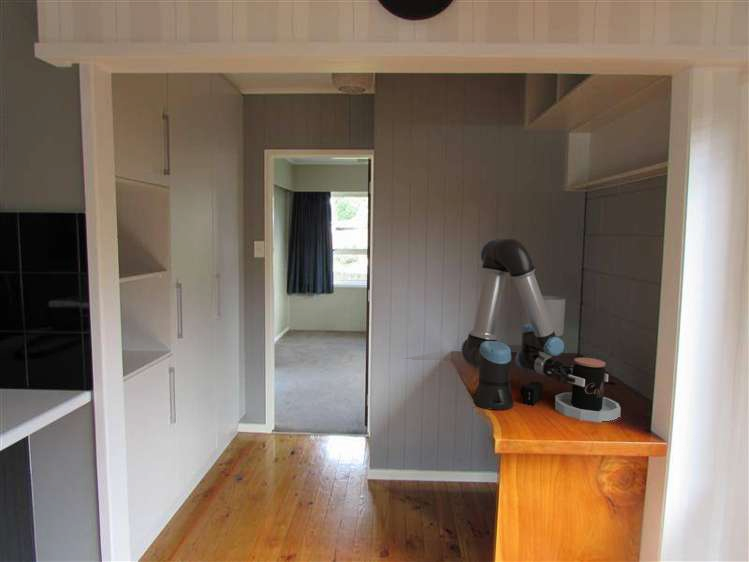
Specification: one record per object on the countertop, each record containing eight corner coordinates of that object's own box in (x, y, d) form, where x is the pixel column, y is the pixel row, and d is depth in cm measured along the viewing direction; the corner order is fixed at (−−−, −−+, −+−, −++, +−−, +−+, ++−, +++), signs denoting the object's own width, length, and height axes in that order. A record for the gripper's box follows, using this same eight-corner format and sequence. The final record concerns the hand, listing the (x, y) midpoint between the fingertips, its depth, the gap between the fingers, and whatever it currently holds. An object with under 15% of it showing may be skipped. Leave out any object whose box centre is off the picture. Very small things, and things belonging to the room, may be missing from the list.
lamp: (516, 359, 253) (519, 294, 250) (554, 360, 252) (557, 295, 249) (526, 369, 233) (530, 299, 230) (567, 371, 232) (571, 300, 229)
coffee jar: (584, 414, 169) (587, 365, 167) (564, 404, 179) (568, 358, 178) (608, 412, 172) (612, 364, 170) (588, 402, 182) (591, 356, 181)
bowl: (602, 426, 160) (603, 416, 160) (543, 408, 177) (544, 399, 177) (629, 413, 174) (630, 403, 174) (572, 397, 191) (573, 389, 191)
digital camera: (528, 396, 191) (529, 380, 190) (541, 399, 188) (542, 382, 187) (519, 403, 183) (519, 385, 182) (533, 406, 180) (533, 388, 179)
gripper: (568, 372, 197) (616, 385, 178) (526, 379, 184) (573, 395, 166) (569, 354, 196) (617, 366, 178) (527, 361, 184) (574, 374, 165)
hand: (596, 380), depth 172 cm, fingers open, 13 cm apart
